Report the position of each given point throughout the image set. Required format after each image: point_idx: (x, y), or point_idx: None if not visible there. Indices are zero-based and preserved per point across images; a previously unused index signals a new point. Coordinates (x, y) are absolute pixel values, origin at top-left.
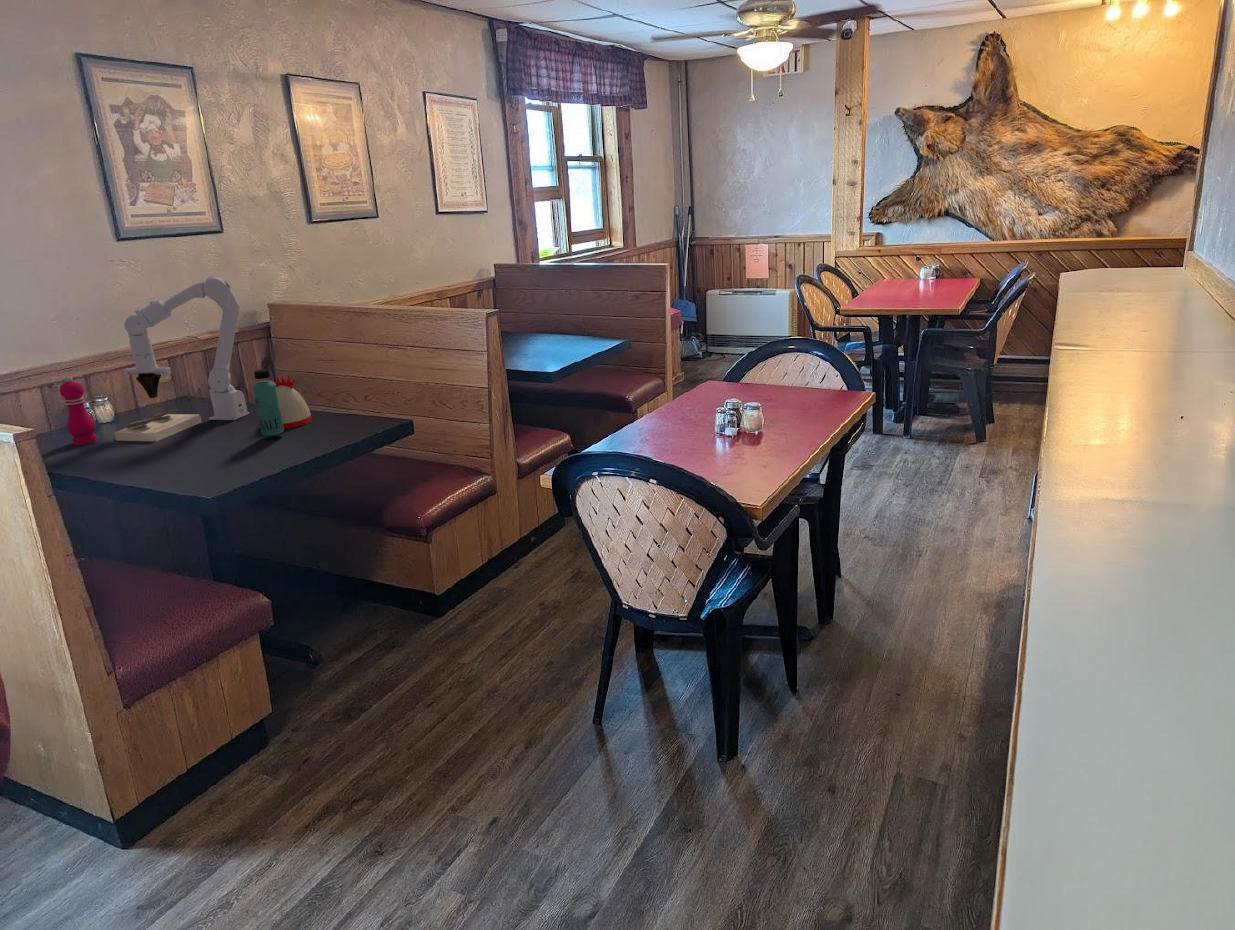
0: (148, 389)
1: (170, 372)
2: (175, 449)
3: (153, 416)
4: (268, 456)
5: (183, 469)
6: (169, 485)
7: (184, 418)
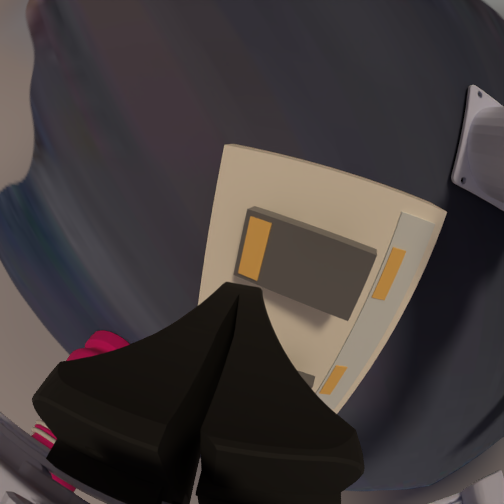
0: (216, 384)
1: (493, 485)
2: (393, 429)
3: (250, 280)
4: (499, 424)
5: (409, 467)
6: (396, 485)
7: (400, 278)
